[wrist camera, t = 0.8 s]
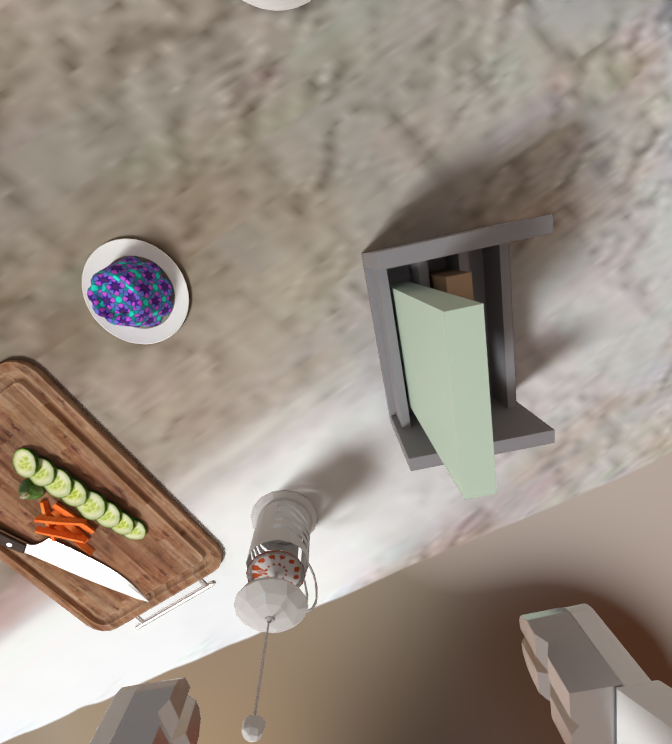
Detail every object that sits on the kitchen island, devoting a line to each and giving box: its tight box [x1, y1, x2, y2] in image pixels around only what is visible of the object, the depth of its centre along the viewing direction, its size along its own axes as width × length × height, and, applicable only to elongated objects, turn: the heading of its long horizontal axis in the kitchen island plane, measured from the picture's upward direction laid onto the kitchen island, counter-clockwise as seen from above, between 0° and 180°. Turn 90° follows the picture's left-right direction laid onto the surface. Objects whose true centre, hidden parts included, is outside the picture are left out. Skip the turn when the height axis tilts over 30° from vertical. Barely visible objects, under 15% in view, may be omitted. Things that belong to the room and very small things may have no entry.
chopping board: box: [0, 360, 223, 631], centre depth 49 cm, size 45×27×3 cm, turn 34°
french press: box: [234, 490, 317, 742], centre depth 40 cm, size 10×12×25 cm
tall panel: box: [389, 281, 497, 500], centre depth 33 cm, size 14×2×20 cm, turn 12°
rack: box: [361, 214, 555, 471], centre depth 38 cm, size 22×15×12 cm
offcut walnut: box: [429, 269, 474, 301], centre depth 37 cm, size 7×2×8 cm, turn 12°
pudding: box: [82, 239, 189, 344], centre depth 39 cm, size 12×12×5 cm
